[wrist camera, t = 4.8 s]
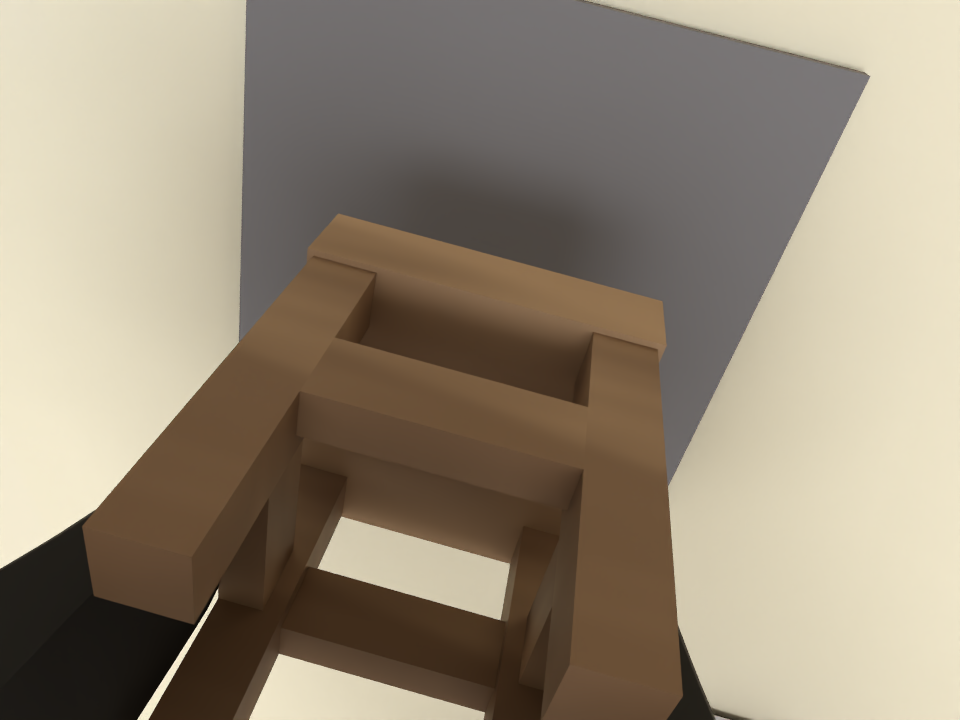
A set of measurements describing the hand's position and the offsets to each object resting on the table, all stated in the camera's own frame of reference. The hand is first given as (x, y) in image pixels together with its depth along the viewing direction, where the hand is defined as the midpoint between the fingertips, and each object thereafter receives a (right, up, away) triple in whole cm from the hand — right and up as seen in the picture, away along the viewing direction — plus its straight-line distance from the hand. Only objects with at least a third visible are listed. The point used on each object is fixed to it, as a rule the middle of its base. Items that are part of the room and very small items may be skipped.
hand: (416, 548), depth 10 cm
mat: (+1, +5, +8) cm, 9 cm away
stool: (+1, +2, +3) cm, 4 cm away
